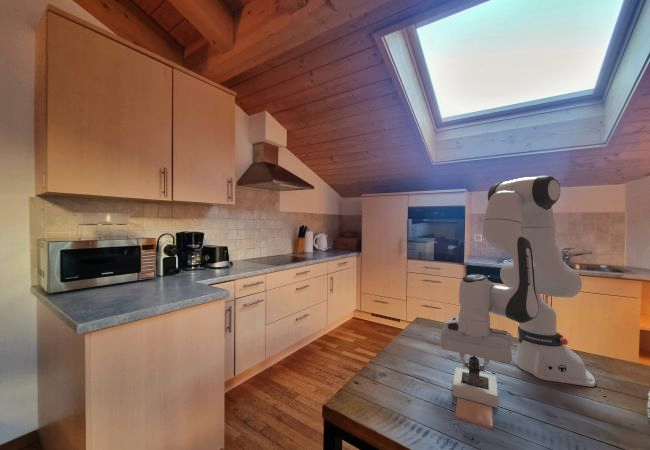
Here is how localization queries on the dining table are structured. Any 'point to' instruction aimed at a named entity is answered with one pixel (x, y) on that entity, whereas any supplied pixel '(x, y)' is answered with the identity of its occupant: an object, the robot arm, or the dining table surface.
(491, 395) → the socket block
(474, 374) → the dark turned stone ornament
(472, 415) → the terracotta tile
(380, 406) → the dining table surface
